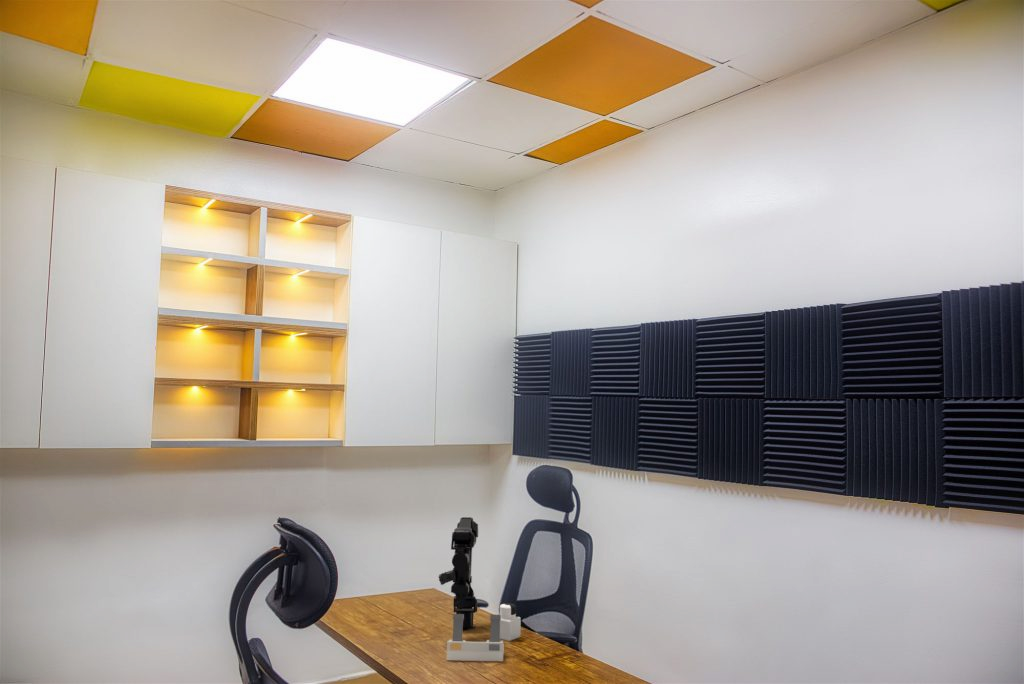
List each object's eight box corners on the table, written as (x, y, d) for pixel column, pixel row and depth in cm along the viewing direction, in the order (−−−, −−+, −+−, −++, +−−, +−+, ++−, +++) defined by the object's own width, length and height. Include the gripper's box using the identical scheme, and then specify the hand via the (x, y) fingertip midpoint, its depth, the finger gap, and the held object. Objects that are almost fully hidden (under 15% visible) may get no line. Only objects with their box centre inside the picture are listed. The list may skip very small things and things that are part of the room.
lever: (489, 645, 259) (490, 615, 263) (500, 645, 259) (500, 615, 263) (489, 645, 257) (490, 614, 261) (499, 645, 257) (500, 614, 261)
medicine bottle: (505, 633, 284) (505, 600, 285) (520, 636, 280) (521, 603, 281) (494, 637, 278) (494, 604, 280) (509, 641, 274) (510, 607, 275)
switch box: (449, 651, 262) (449, 634, 262) (503, 652, 261) (503, 634, 262) (446, 660, 252) (446, 642, 253) (502, 661, 252) (503, 643, 253)
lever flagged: (452, 645, 259) (453, 614, 263) (462, 645, 259) (463, 614, 263) (451, 644, 257) (453, 613, 261) (462, 644, 257) (463, 614, 261)
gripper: (443, 558, 286) (442, 600, 285) (437, 568, 267) (436, 613, 266) (472, 559, 286) (471, 601, 284) (468, 569, 267) (467, 614, 266)
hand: (461, 607), depth 275 cm, fingers open, 6 cm apart
